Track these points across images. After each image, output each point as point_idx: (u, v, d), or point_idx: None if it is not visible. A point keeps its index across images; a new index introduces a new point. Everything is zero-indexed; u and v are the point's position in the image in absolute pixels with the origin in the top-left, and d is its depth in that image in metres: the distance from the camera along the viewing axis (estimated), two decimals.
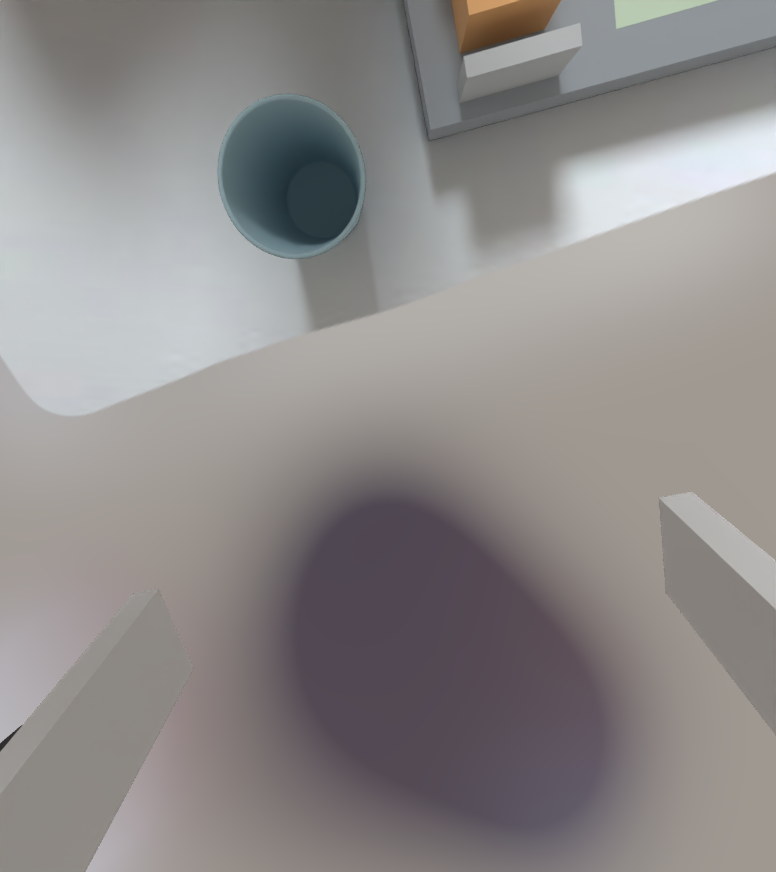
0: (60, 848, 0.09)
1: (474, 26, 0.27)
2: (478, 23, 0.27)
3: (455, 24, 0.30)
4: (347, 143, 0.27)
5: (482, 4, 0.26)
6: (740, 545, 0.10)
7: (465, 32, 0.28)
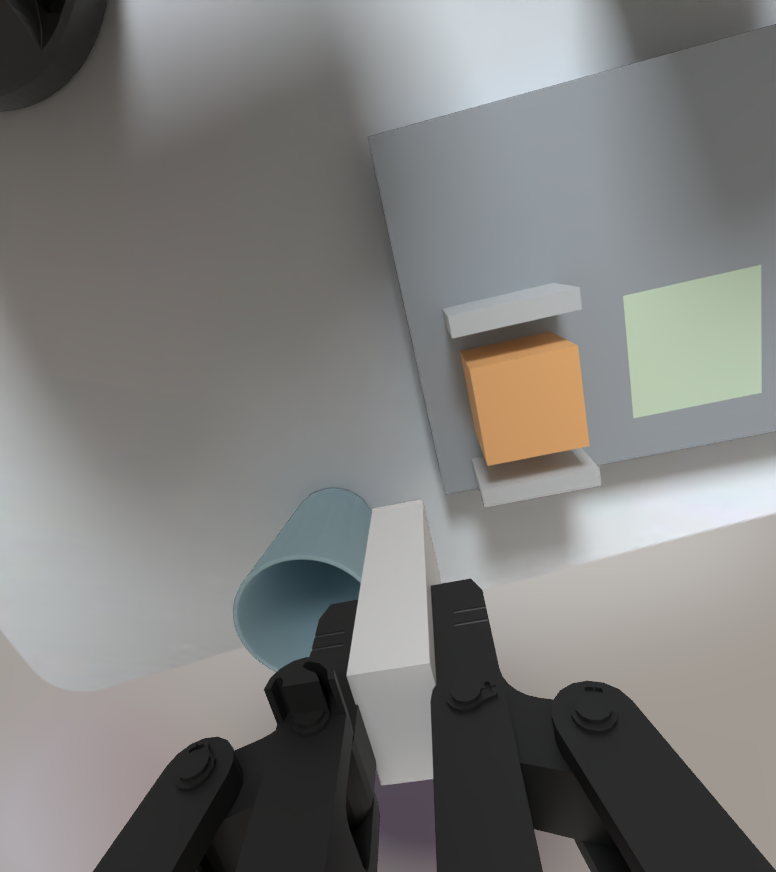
0: None
1: None
2: None
3: (471, 410, 0.30)
4: None
5: (500, 457, 0.25)
6: (414, 541, 0.13)
7: (482, 450, 0.27)
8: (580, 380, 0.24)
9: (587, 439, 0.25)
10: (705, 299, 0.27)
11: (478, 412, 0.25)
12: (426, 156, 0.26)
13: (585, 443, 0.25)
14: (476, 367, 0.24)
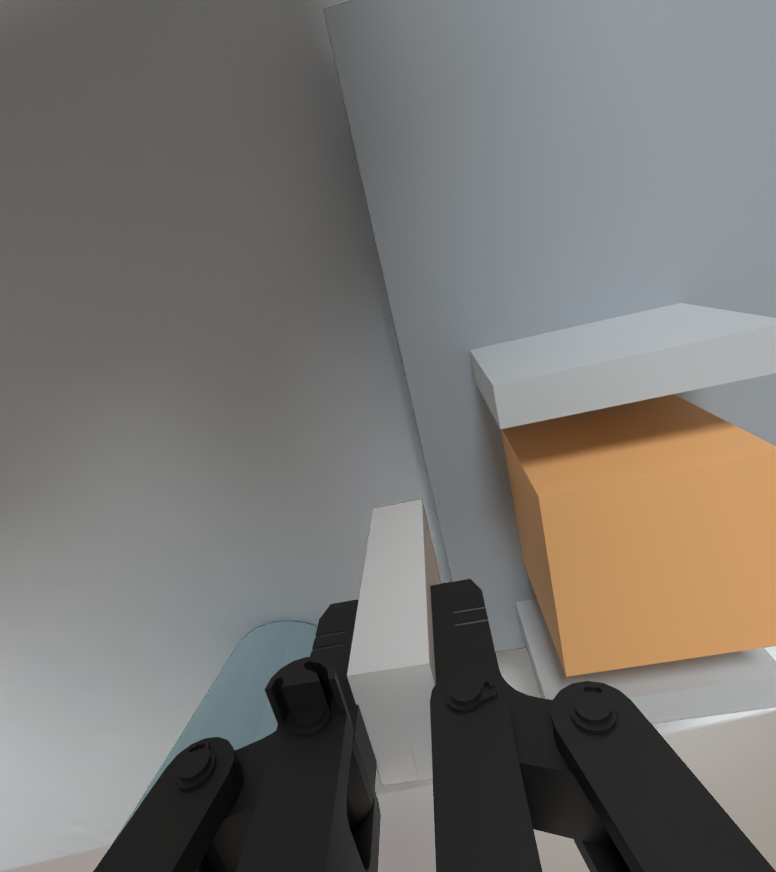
0: None
1: None
2: None
3: (517, 525, 0.17)
4: None
5: (594, 662, 0.12)
6: (414, 541, 0.13)
7: (546, 619, 0.15)
8: None
9: None
10: None
11: (553, 579, 0.12)
12: (442, 50, 0.13)
13: (773, 640, 0.12)
14: (553, 492, 0.11)
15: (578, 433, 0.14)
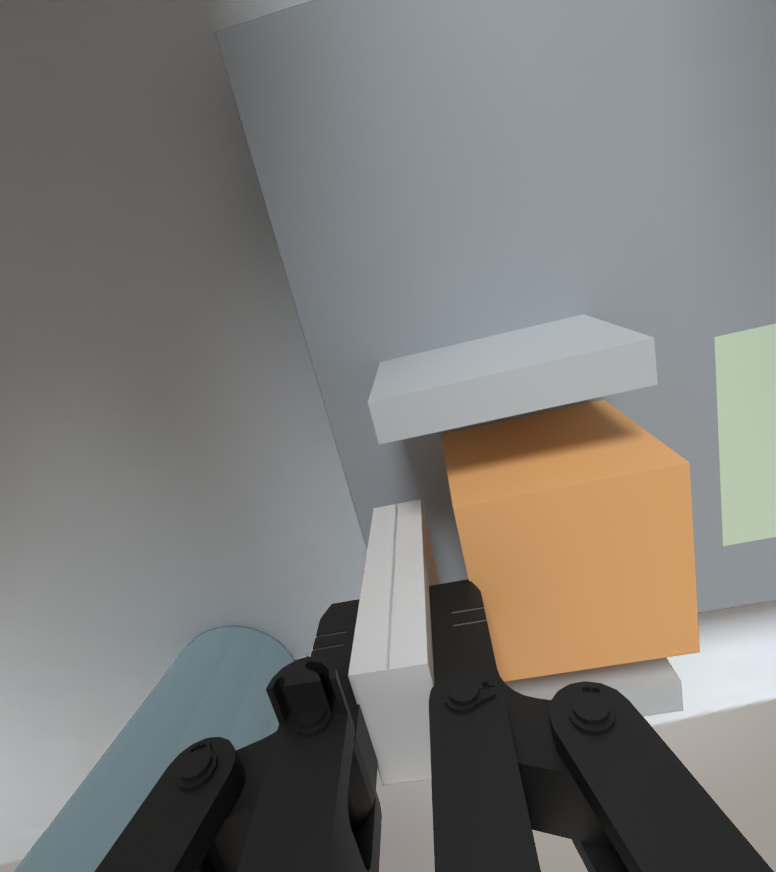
0: None
1: None
2: None
3: None
4: None
5: (518, 670, 0.13)
6: (412, 541, 0.13)
7: None
8: (690, 531, 0.11)
9: (696, 641, 0.12)
10: None
11: None
12: (334, 71, 0.13)
13: (691, 647, 0.12)
14: (467, 503, 0.11)
15: (509, 443, 0.14)
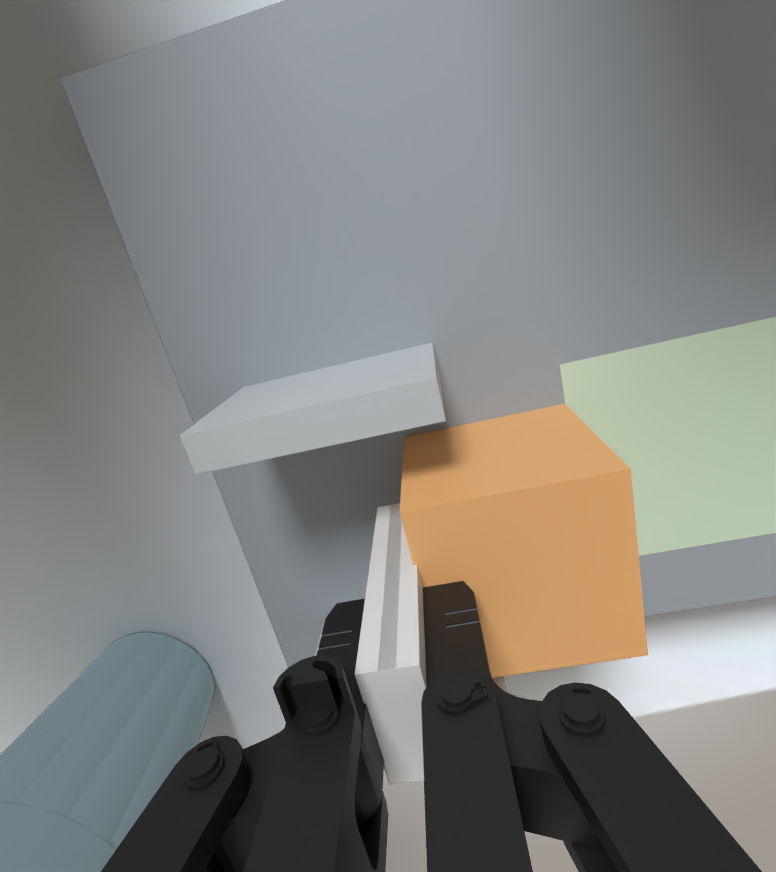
0: None
1: None
2: None
3: None
4: None
5: None
6: (406, 543, 0.13)
7: None
8: (633, 536, 0.11)
9: (644, 644, 0.12)
10: (711, 370, 0.15)
11: None
12: (174, 113, 0.14)
13: (639, 650, 0.12)
14: (414, 508, 0.11)
15: (466, 446, 0.14)
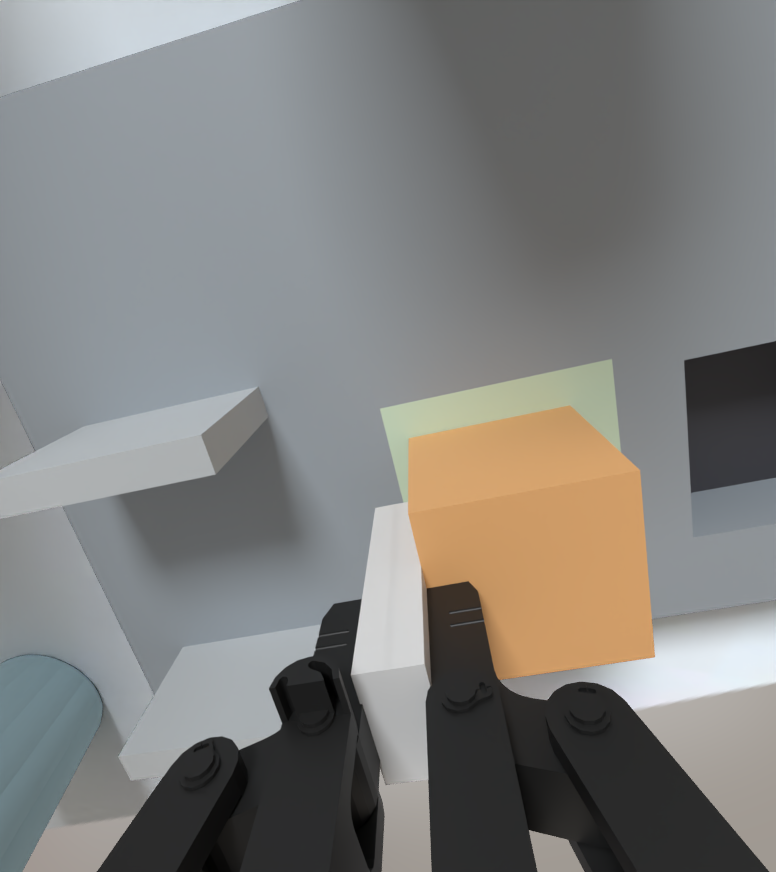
0: None
1: None
2: None
3: None
4: None
5: None
6: (410, 542, 0.13)
7: None
8: (642, 538, 0.11)
9: (651, 646, 0.12)
10: None
11: None
12: None
13: (646, 652, 0.12)
14: (422, 509, 0.11)
15: (472, 448, 0.14)
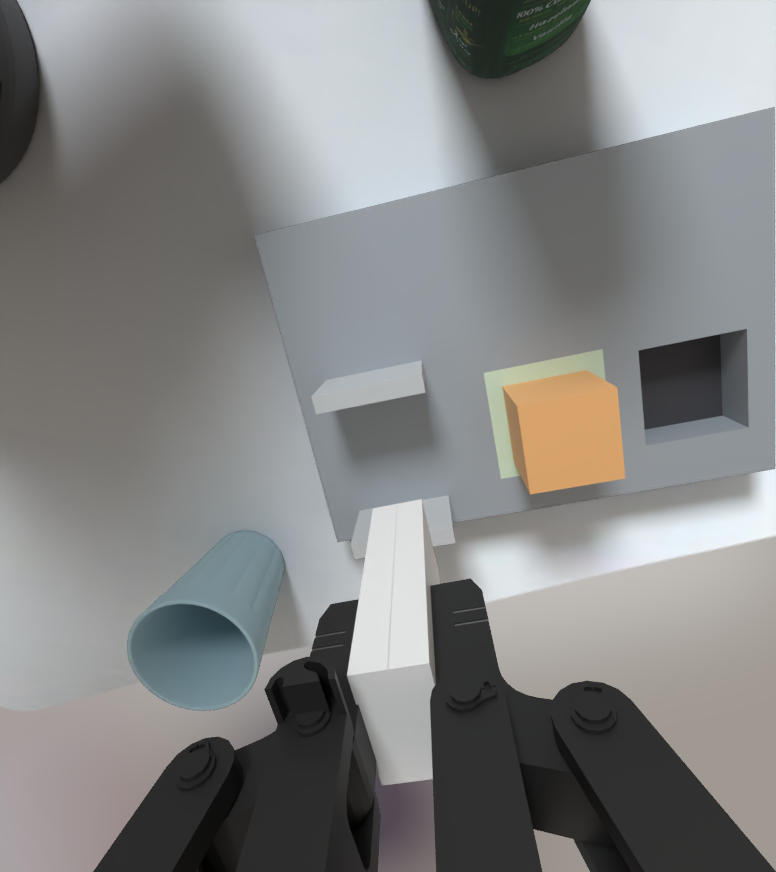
0: None
1: None
2: None
3: None
4: None
5: (542, 487, 0.28)
6: (414, 541, 0.13)
7: (523, 479, 0.30)
8: (618, 418, 0.26)
9: (623, 472, 0.27)
10: None
11: (523, 445, 0.27)
12: (305, 252, 0.29)
13: (621, 476, 0.27)
14: (523, 404, 0.26)
15: (539, 387, 0.29)
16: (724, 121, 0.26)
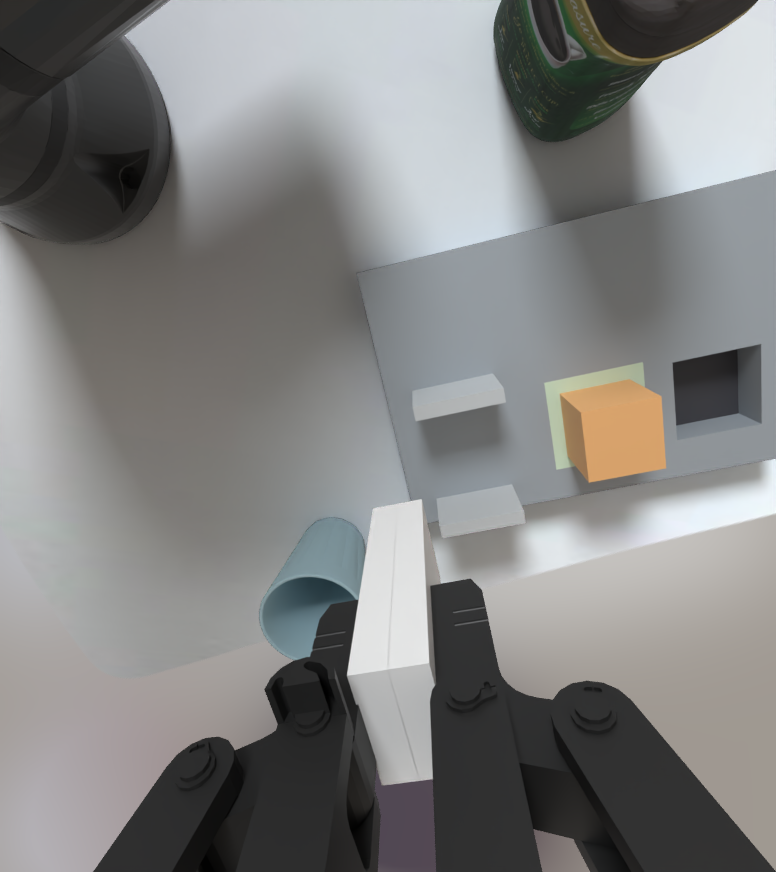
0: None
1: None
2: None
3: (565, 438, 0.39)
4: None
5: (599, 476, 0.34)
6: (414, 541, 0.13)
7: (579, 470, 0.36)
8: (661, 421, 0.33)
9: (664, 463, 0.34)
10: None
11: (585, 443, 0.33)
12: (399, 286, 0.36)
13: (663, 466, 0.34)
14: (585, 411, 0.33)
15: (593, 394, 0.36)
16: (745, 179, 0.33)
